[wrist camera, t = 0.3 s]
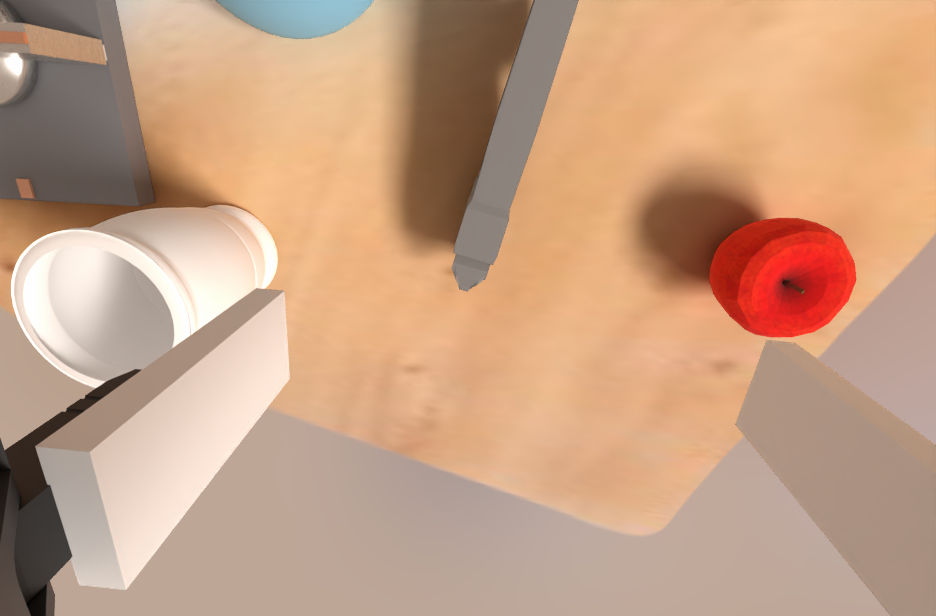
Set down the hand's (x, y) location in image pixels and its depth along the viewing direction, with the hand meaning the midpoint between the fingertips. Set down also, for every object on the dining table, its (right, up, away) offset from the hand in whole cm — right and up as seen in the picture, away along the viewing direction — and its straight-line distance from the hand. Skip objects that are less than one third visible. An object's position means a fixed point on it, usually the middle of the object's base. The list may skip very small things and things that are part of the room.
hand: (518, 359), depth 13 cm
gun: (+2, +17, +23) cm, 29 cm away
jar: (-22, +6, +28) cm, 36 cm away
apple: (+22, +6, +27) cm, 35 cm away
